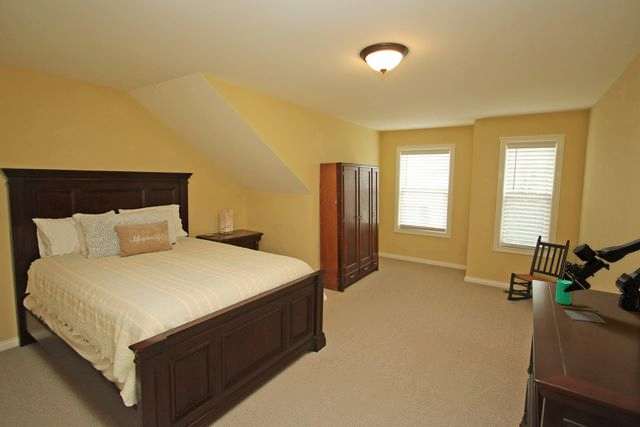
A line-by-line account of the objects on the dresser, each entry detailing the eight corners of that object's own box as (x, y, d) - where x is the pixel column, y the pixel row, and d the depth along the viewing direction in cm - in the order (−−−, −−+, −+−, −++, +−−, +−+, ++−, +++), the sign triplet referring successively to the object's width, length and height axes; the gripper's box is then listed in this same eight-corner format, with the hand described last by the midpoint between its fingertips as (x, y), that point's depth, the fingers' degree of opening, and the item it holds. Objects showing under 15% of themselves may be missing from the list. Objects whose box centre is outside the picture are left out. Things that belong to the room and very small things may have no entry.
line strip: (596, 309, 153) (596, 308, 153) (598, 311, 151) (598, 310, 151) (561, 306, 157) (561, 305, 157) (562, 308, 155) (562, 307, 155)
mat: (594, 313, 149) (594, 312, 149) (606, 323, 139) (606, 322, 139) (563, 310, 152) (563, 309, 152) (572, 319, 143) (572, 319, 143)
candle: (552, 301, 164) (554, 277, 162) (560, 299, 166) (561, 275, 165) (566, 305, 158) (567, 280, 157) (573, 303, 161) (575, 279, 160)
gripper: (568, 251, 167) (541, 271, 172) (584, 260, 150) (554, 282, 155) (586, 268, 166) (558, 287, 170) (604, 279, 148) (572, 300, 153)
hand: (560, 288), depth 162 cm, fingers open, 9 cm apart
